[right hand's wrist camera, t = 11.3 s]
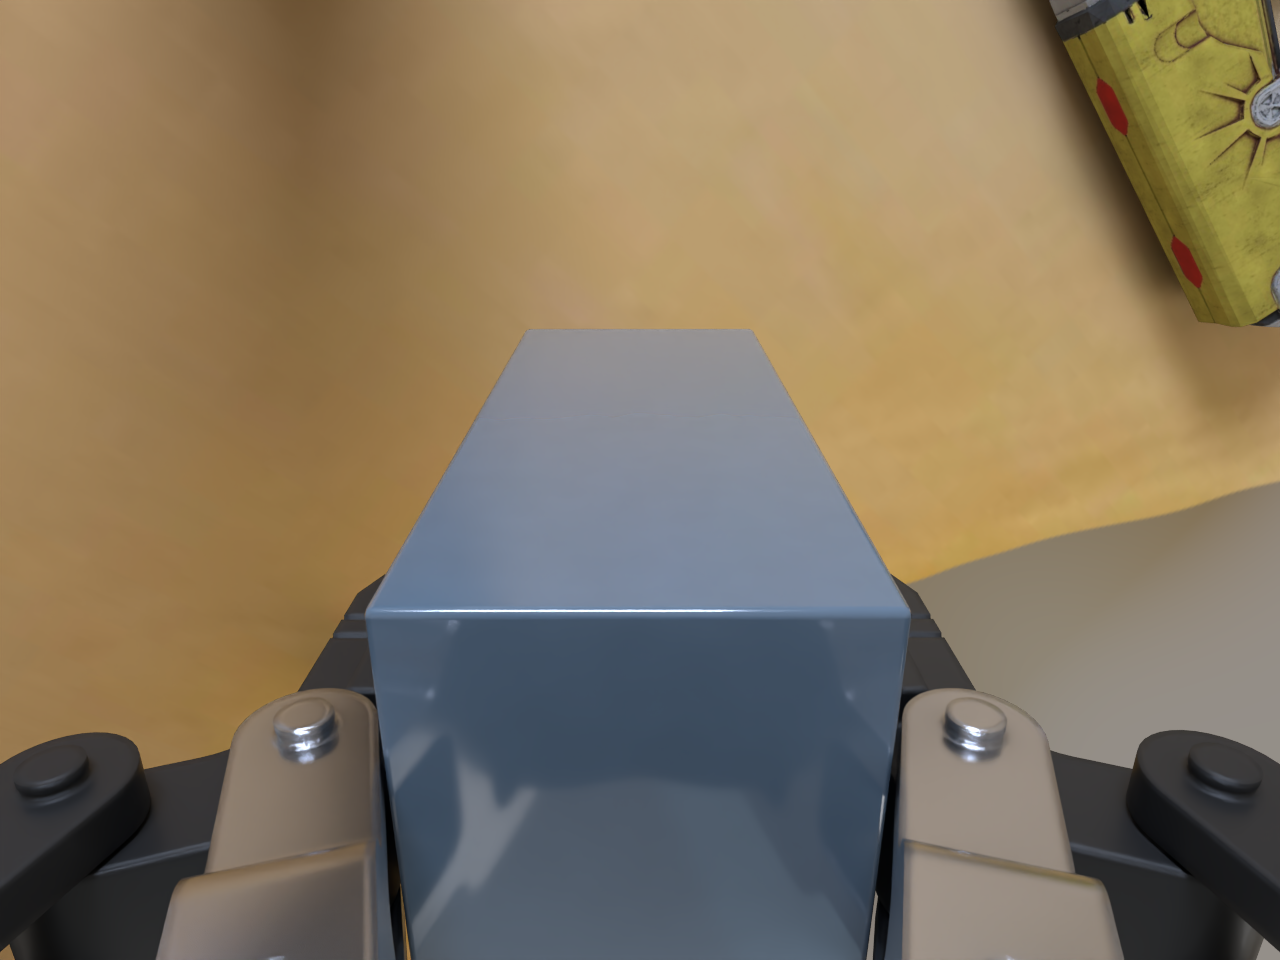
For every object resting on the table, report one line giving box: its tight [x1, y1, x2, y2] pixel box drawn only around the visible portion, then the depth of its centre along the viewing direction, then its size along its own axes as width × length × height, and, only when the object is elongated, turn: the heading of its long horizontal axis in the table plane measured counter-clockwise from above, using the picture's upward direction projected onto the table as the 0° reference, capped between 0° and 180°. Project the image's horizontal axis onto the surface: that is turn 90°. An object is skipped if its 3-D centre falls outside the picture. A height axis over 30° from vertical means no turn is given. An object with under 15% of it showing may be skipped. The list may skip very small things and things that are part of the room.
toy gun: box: [1049, 0, 1280, 327], centre depth 39 cm, size 5×24×15 cm
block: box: [364, 329, 912, 960], centre depth 12 cm, size 4×5×10 cm
